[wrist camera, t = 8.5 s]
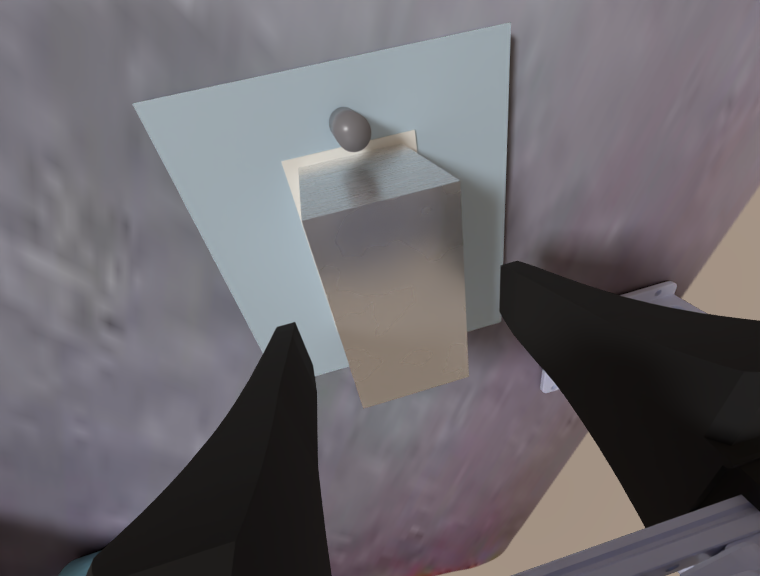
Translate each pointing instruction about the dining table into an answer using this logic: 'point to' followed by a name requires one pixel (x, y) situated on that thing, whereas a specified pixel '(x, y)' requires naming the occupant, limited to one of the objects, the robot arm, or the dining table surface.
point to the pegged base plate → (331, 141)
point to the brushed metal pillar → (390, 267)
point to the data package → (78, 566)
